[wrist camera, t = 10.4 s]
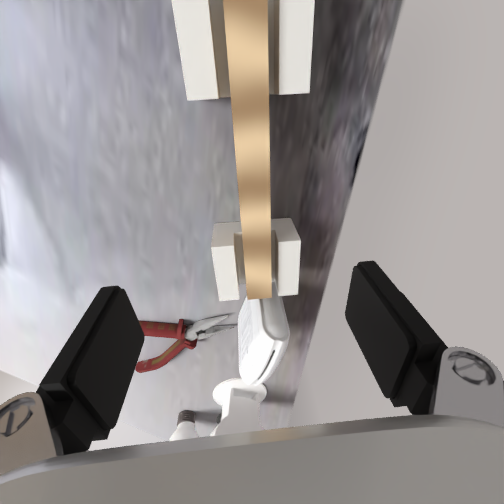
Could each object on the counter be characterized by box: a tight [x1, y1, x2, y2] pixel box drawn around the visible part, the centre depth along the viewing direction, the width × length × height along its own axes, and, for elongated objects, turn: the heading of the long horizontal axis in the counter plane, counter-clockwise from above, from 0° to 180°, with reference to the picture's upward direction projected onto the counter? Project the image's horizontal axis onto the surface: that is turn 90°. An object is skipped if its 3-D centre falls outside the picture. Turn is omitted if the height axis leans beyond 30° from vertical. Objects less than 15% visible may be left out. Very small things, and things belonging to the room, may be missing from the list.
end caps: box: [172, 0, 315, 301], centre depth 27 cm, size 30×10×6 cm, turn 3°
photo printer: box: [238, 281, 290, 386], centre depth 36 cm, size 10×4×12 cm, turn 161°
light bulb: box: [169, 411, 199, 441], centre depth 54 cm, size 7×7×11 cm
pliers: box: [135, 315, 234, 373], centre depth 43 cm, size 12×20×3 cm, turn 108°
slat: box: [223, 0, 272, 300], centre depth 26 cm, size 28×3×4 cm, turn 3°
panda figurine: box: [210, 378, 267, 436], centre depth 49 cm, size 12×11×15 cm
